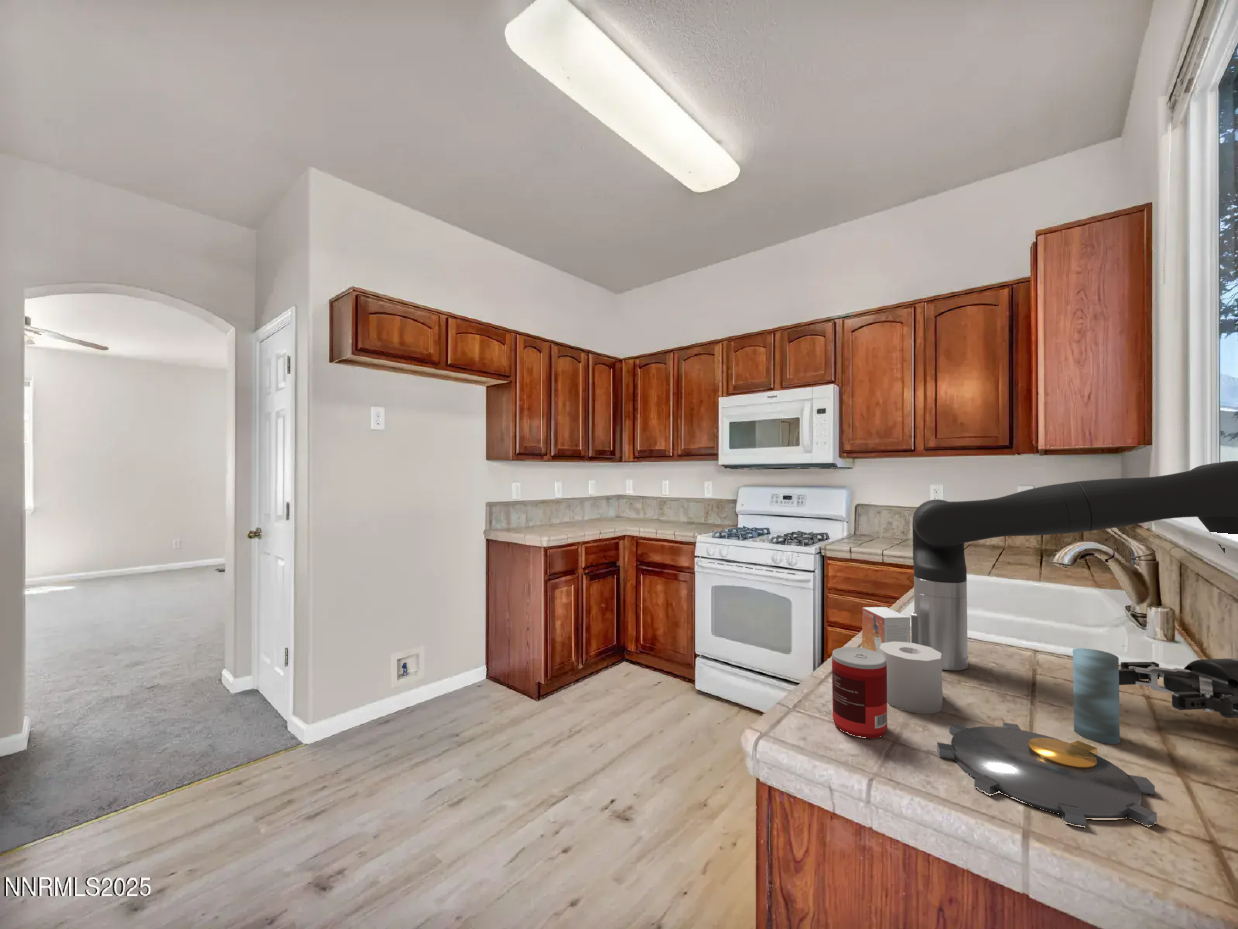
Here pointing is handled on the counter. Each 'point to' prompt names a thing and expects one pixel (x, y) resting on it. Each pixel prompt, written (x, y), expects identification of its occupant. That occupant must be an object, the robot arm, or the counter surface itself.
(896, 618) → the small box
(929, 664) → the toilet tissue
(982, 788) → the sprocket plate
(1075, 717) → the pin
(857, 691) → the canned food
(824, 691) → the counter surface
